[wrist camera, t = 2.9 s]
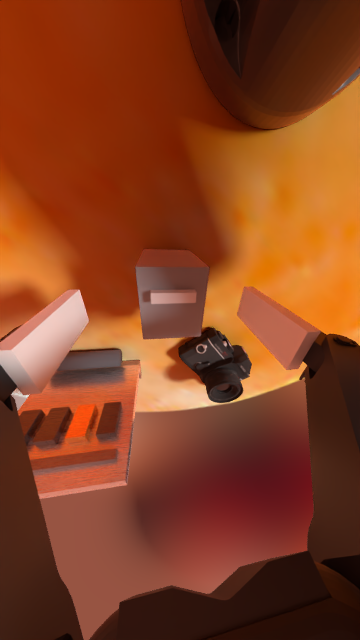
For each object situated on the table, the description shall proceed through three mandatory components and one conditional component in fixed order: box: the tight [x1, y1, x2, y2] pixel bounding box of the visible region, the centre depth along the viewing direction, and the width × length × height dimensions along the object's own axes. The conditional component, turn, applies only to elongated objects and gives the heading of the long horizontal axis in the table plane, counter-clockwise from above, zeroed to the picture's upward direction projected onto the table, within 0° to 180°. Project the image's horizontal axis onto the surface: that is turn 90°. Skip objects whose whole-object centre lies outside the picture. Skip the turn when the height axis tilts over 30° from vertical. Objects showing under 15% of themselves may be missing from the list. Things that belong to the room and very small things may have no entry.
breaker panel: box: [18, 360, 141, 499], centre depth 19 cm, size 4×13×14 cm, turn 88°
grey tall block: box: [135, 249, 210, 339], centre depth 16 cm, size 7×5×9 cm
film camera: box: [179, 327, 252, 403], centre depth 25 cm, size 13×8×10 cm
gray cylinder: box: [56, 350, 122, 371], centre depth 22 cm, size 10×2×2 cm, turn 88°
